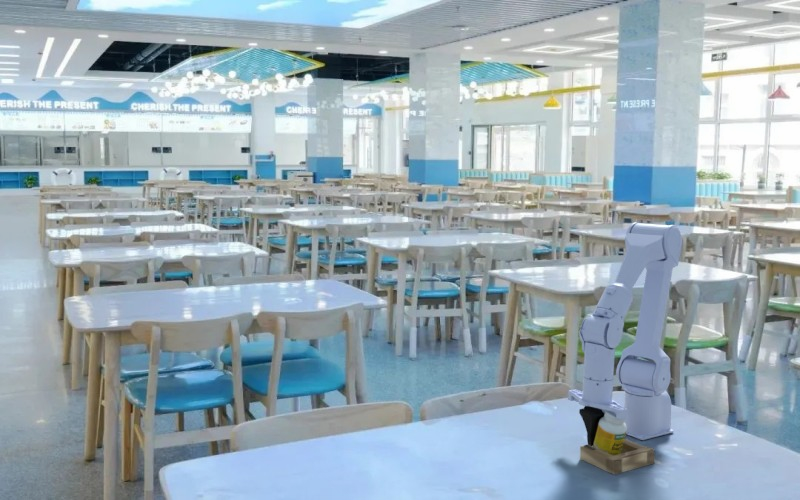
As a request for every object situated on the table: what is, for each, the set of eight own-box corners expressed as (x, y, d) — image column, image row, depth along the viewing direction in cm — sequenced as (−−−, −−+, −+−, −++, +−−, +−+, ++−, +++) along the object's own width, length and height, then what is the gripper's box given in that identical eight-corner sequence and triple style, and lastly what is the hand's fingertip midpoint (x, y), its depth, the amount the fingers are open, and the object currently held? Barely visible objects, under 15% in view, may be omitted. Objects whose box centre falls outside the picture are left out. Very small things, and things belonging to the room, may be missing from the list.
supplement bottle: (601, 443, 164) (611, 402, 160) (624, 457, 160) (635, 414, 157) (586, 452, 160) (596, 410, 157) (609, 466, 156) (621, 423, 153)
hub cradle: (619, 448, 164) (620, 435, 164) (654, 463, 157) (654, 449, 156) (580, 458, 159) (580, 445, 159) (613, 474, 152) (614, 460, 151)
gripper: (557, 370, 164) (554, 436, 166) (609, 389, 152) (605, 460, 153) (584, 367, 168) (580, 431, 169) (637, 384, 155) (633, 454, 157)
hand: (594, 444), depth 161 cm, fingers closed, pressing on supplement bottle
